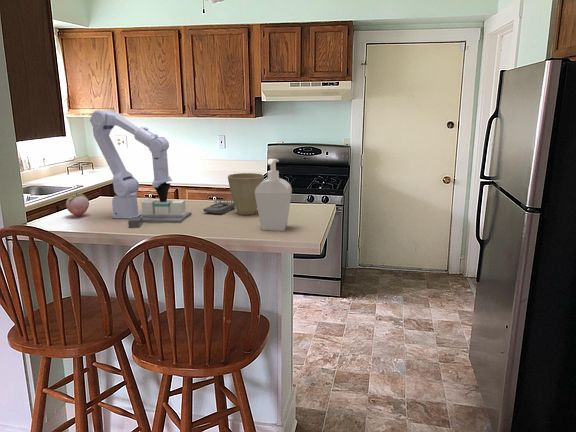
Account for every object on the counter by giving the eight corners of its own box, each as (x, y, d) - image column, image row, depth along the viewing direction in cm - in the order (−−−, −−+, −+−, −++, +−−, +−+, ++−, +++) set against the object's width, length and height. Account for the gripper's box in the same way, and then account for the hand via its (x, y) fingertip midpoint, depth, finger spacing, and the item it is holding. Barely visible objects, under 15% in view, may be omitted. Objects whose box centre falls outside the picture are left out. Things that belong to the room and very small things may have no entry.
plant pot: (248, 218, 192) (247, 179, 188) (222, 214, 200) (220, 176, 197) (271, 211, 203) (271, 174, 199) (245, 207, 212) (244, 171, 208)
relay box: (128, 228, 181) (128, 220, 180) (132, 224, 187) (131, 217, 186) (139, 228, 182) (138, 220, 181) (142, 224, 187) (142, 216, 187)
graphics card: (215, 198, 216) (239, 199, 212) (215, 206, 217) (239, 207, 213) (196, 207, 201) (221, 208, 197) (197, 216, 202) (222, 217, 198)
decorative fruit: (76, 213, 206) (73, 190, 203) (93, 214, 204) (91, 191, 202) (62, 218, 197) (59, 194, 194) (80, 219, 195) (77, 195, 193)
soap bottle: (254, 231, 173) (252, 160, 167) (260, 224, 183) (258, 157, 176) (288, 232, 171) (287, 160, 165) (292, 225, 181) (291, 157, 174)
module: (155, 214, 192) (154, 202, 191) (159, 211, 197) (158, 200, 196) (168, 215, 192) (167, 202, 190) (172, 212, 197) (172, 200, 195)
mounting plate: (136, 222, 189) (134, 204, 188) (150, 213, 203) (148, 197, 201) (180, 222, 187) (179, 205, 185) (191, 214, 201) (190, 198, 199)
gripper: (163, 171, 183) (166, 205, 186) (176, 165, 197) (179, 198, 200) (146, 171, 183) (149, 205, 187) (160, 165, 197) (162, 198, 201)
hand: (163, 201), depth 193 cm, fingers closed, pressing on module
